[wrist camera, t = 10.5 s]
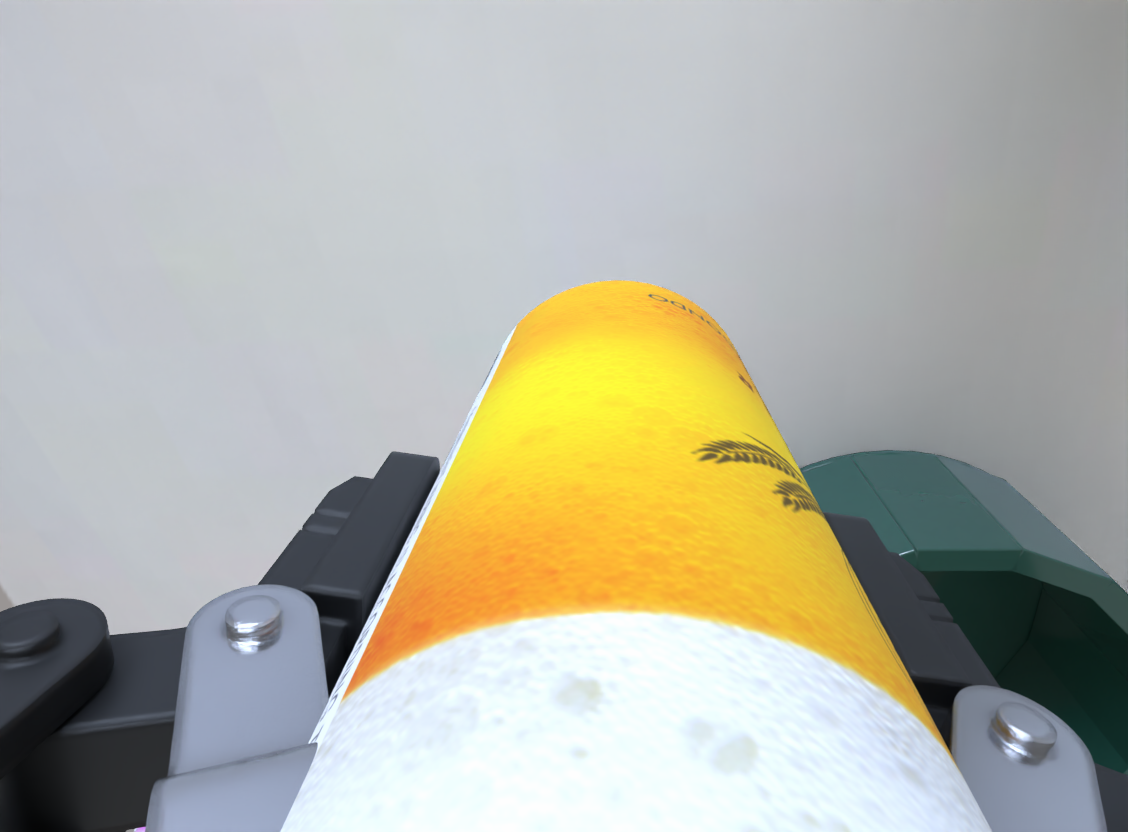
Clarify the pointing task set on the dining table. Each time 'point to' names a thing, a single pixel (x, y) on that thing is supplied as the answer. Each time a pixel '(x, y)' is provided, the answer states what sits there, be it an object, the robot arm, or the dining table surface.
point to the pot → (1000, 582)
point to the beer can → (625, 616)
